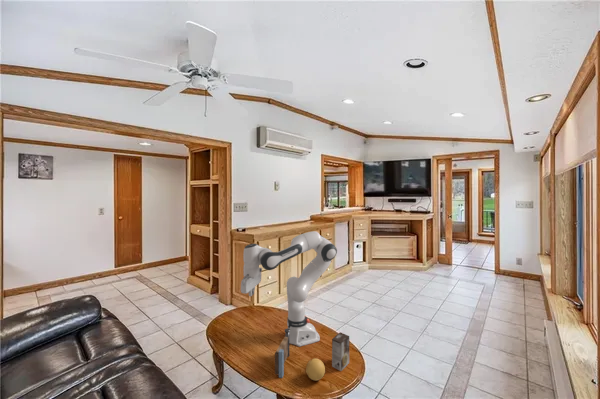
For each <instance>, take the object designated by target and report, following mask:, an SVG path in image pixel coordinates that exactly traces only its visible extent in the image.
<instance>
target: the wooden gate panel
mask: <svg viewBox="0 0 600 399" xmlns="http://www.w3.org/2000/svg"><path fill="white" fill-rule="evenodd" d="M280 349H282V350H284V363H285V362H286V361H287V359H288V358H289V357H288V337H285V336H284V337H283V339H282V341H281V342H280V344H279V345H278V348H277V349H276V351H275V353H274V375H277V376H279V350H280Z"/></svg>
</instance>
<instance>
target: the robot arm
mask: <svg viewBox="0 0 600 399" xmlns="http://www.w3.org/2000/svg"><path fill="white" fill-rule="evenodd" d="M311 250H314V251H315V252H316V256H315V257H314V258H313V259H312V260H310V262H309V263H308V264H306V266H305V267H304V268H303V269H302V272H301V273H300V275H299V277H297V276H291V277H289V278H288V279H287V281H286V297H287V298H286V299H287V320H286V322H287V323H286V325H287V326H286V327H287V328H288V329H290V332H289V344H291V345H295V346H296V347H302V346H307V345H311V344H314V343H317V342H320V339H321V337H320V334H319V333H318V331H317V330H316V327H315V326H314V324H312V323H311V322H310V321H311V320H310V319H309V318H308V317H307V316H306V314H305V313H306V312H305V311H306V309H305V308H306V305H305V301H306V300H307V298H308V294H309V292H310V291H311V289H312V287H313V286H314V284H315V283H316V282H317V280H318V279H320V277H321V276H322V275H323V274H324V273H325V272H326V270H328V268H329V267H330V265H331V263H332V260H334V259H335V257H336V256H337V253H338V249H337V246H336V245H335V244H334V243H332V242H331V241H330V240H329V239H328V238H325V237H324V236H323V235H322V234H321V235H320V232H318V231H316V230H315V231H308V232H305V233H301V234H298V235H297V236H295V237H293V238H292V240H291V241H290V246H288V247H286V248H284V249H281V250H279V251H272V250H271V249H270V248H267V247H262V245H261V246H260V245H259V244H257V243H250V244H247V245H245V246H244V249H243V255H242V256H243V257H242V258H243V279H241V281H240V282H241V283H240V292H241V294H244V295H245V294H248V296H249V297H252V296H253V295H255V290H256V286H258V285H259V284H260V283H261V281H262V272H263V269H264V270H267V271H272V270H275V269H276V268H277V267H278V266H280V264H282V263H284V262H286V261H288V260H291V259H292V258H295V257H297V256H299V255H300V254H301V255H302V253H303V254H304V253H306V252H309V251H311ZM260 266H262V267H260Z"/></svg>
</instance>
